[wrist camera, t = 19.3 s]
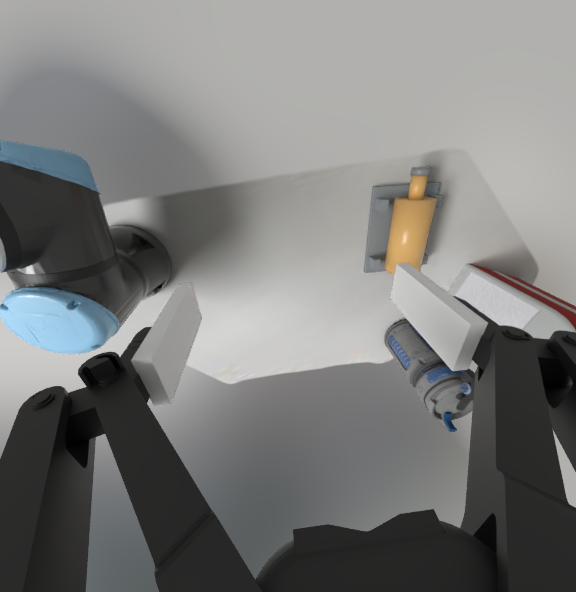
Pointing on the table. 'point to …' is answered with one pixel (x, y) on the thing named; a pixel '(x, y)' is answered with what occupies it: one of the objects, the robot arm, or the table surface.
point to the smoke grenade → (431, 375)
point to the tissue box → (513, 302)
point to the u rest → (388, 222)
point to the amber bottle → (410, 223)
